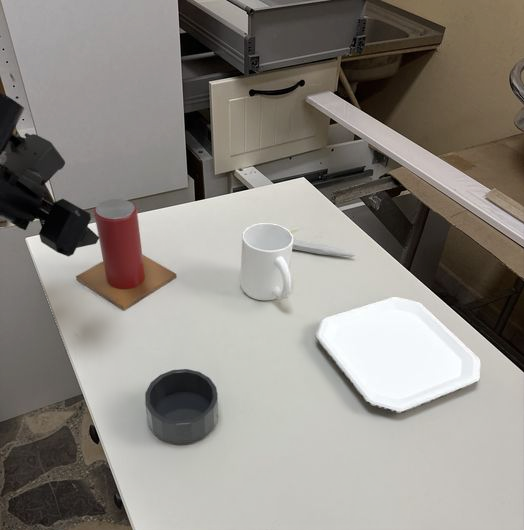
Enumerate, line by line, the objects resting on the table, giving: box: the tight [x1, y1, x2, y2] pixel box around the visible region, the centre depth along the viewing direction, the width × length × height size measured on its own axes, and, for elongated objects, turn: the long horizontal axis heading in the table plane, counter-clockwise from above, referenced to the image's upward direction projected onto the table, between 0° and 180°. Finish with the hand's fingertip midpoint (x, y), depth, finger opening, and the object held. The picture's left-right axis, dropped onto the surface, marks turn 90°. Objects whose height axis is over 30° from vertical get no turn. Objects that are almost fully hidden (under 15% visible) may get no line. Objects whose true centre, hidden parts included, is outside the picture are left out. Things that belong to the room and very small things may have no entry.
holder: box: [144, 368, 219, 446], centre depth 69 cm, size 9×9×4 cm
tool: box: [292, 238, 356, 258], centre depth 99 cm, size 17×2×2 cm, turn 77°
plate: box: [315, 296, 482, 414], centre depth 81 cm, size 21×21×2 cm
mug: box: [240, 222, 294, 301], centre depth 87 cm, size 12×8×10 cm
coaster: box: [75, 253, 177, 311], centre depth 91 cm, size 12×12×1 cm
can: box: [93, 198, 145, 289], centre depth 85 cm, size 6×6×13 cm
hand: (76, 228), depth 77 cm, fingers open, 9 cm apart
